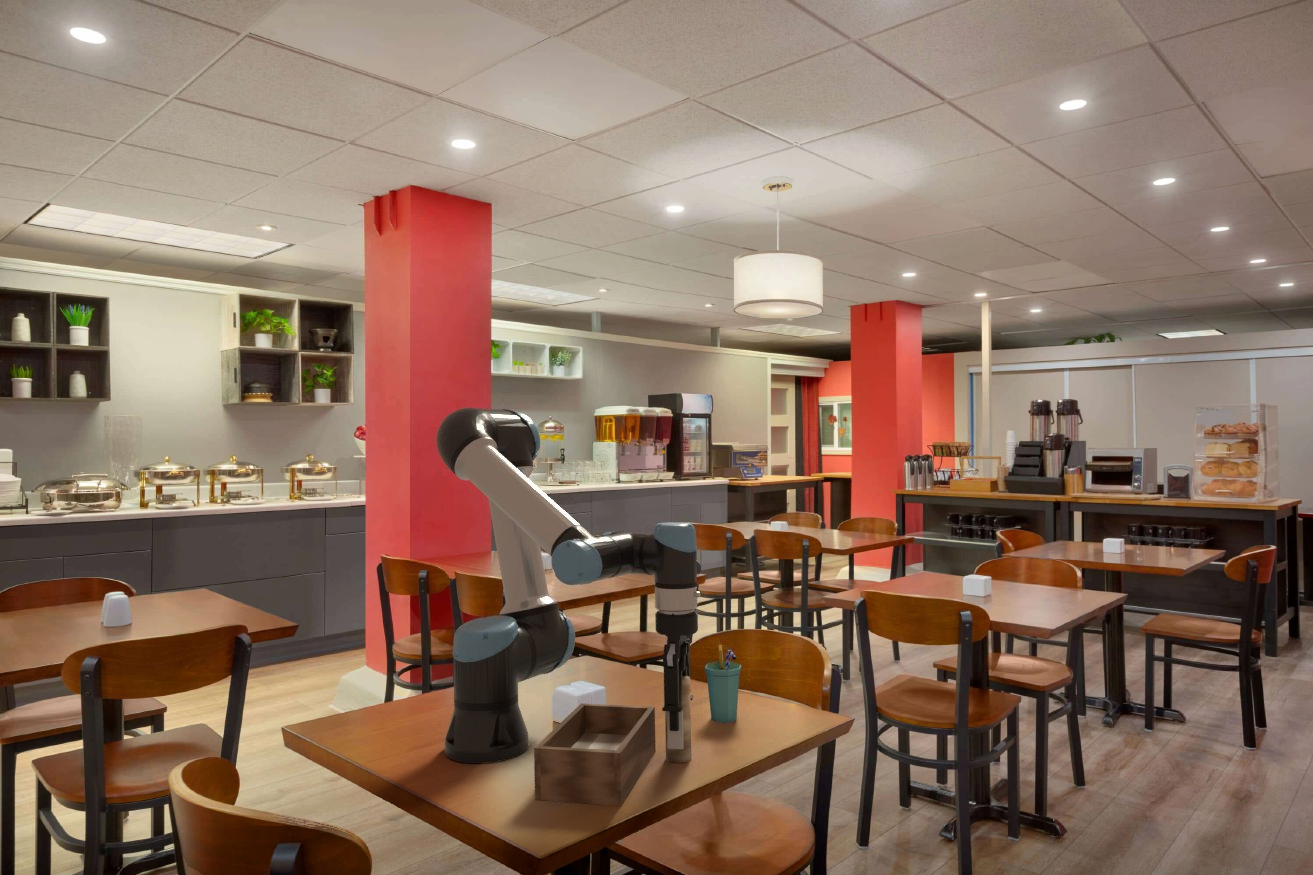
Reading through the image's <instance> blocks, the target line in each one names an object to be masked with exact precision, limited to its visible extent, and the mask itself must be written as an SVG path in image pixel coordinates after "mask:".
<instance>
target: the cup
mask: <svg viewBox="0 0 1313 875" xmlns="http://www.w3.org/2000/svg"><path fill="white" fill-rule="evenodd" d="M725 655H726V656H725V661H724V655H723V646H722V644H718V657H719V661H713V662H708V663H707V664H706V665H705V667H704V673H705V674H706V679H707V680H706V681H707V691H708V699H709V707H710V710H709V711H710V719H711V721H714V722H715V723H727V724H728V723H732V722H736V721H737V719H738V701H739V685H740V673H741V671H742V665H741V664H740V663H736V662H733V661H735V660H736V659H737V657H736V655H735V653H734V652H733V651H732V649H728V650H727V651H726V654H725ZM731 660H732V661H731Z"/></svg>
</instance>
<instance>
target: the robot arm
mask: <svg viewBox="0 0 1313 875" xmlns="http://www.w3.org/2000/svg"><path fill="white" fill-rule="evenodd" d="M435 438H436V440H435V441H436V448H437V452H438V455H439V456H440V458H441V460H442V462H443V463H444V465H445V466H446V467H447V468H448V470H450V471H451V472H452V473H453V474H454V475H455V476H456V477H457V478H458V479H460V480H462V481H469V482H470V483H472V484H473V485H474V486H475V487H476V488H477V489H478V490H479V491H480V492H481V493H483V495H485V497H487V499H488V505H489V510H490V516H491V517H490V518H491V522H492V528H493V535H494V539H495V546H496V552H497V557H498V564H499V571H500V576H501V581H502V586H503V587H502V588H503V594H504V599H505V604H504V605H503V607H502V608H501V609H500V612H499V615H491V616H487V617H479V618H475V619H472V620H469V621H466V622H464V623H462V624H461V625H460V626H458V628H457V629H456V630H455V632H454V635H453V647H452V664H453V701H454V702H453V705H454V706H453V707H454V708H453V712H452V716H451V719H450V722H449V725H448V729H447V732H446V736H445V739H444V756H446V757H447V758H448V759H450V760H452V761H455V762H459V763H467V764H486V763H488V764H489V763H495V762H500V761H501V762H502V761H505V760H508V759H512V758H515V757H517V756H520V755H521V754H523V753H525V752H526V751H528V750H527V749H528V748H529V734H528V728H527V726H526V723H525V721H524V717H523V714H522V711H521V709H520V706H519V683H521V682H524V681H527V680H530V679H533V678H535V677H538V676H541V675H546V674H547V675H548V674H549V673H552V672H553V671H555V670H557V669H559V668H562V666H564V665H565V664H567V662H568V661H569V659H570V657H571V656H572V654H573V652H574V648H575V645H576V644H575V643H576V633H575V627H574V624H573V622H572V620H571V619H570V618H568V617H567V614H565V613H564V612H562V611H561V610H559V609H560V608H559V603H558V600H556V599H555V598H554V597H553V596H551V595H550V593H549V590H548V585H547V578H546V572H545V567H544V561H543V557H542V556H543V555H542V550H544V552H545V553H546V554H548V555H549V556H550V557H551V559H550V560H551V569H552V570H553V572H554V575H555V578H557V580H558V581H560V582H561V583H562V584H564V585H568V586H577V585H588V584H592V583H594V582H597V581H602V580H605V579H606V580H607V579H611V578H617V577H621V576H624V575H625V576H626V575H632V574H633V575H634V574H635V575H648V576H654V608H655V610H657V611H656V612H655V613H654V615H655V616H654V617H655V620H654V622H655V632H656V633H657V634H658V635H662V636H663V635H664V636H666V638H667V640H666V644H664V646H663V653H662V666H663V667H662V668H663V707H662V708H661V710H662V712H665V711H667V744H668V748H670V749H683V748H684V737H683V710H682V707H681V706H682V676H688V677H690V678H691V642H692V641H691V639H690V638H687V636H691V635H695V634H697V632H698V631H699V623H698V622H699V619H698V618H699V615H698V614H699V613H698V612H697V611H696V609H697V608H698V598H700V597H701V592H700V591H697V589H698V580H697V578H698V577H697V574H698V573H697V570H698V568H697V566H698V565H697V564H698V562H697V560H698V558H697V554H698V553H697V551H698V545H697V534H696V531H697V530H696V527H695V526H694V524H692V523H690V522H685V521H684V522H683V521H682V522H679V521H678V522H677V521H676V522H674V521H673V522H672V521H671V522H670V521H668V522H658V523H656V524H655V525H654V528H653V532H650V533H649V532H648V533H646V532H633V531H632V532H631V531H630V532H629V531H624V530H617V531H605V532H603V534H601V535H600V536H594V535H593V534H591V533H590V532H589V531H588V530H586V528H584V527H583V525H581V524H580V523H579V522H577V521H576V520H575V519H574V518H573V517H572V516H571V515H570V514H569V513H568V512H566V511H565V510H564V509H563V508H562V507H560V505H558V504H557V503H556V502H555V501H554V500H553V499H552V498H551V497H550V496H549V495H547V494H546V493H545V492H544V491H543V490H542V489H541V488H540V487H538V485H537V484H536V483H534V482H533V481H532V480H531V479H530V476H531V475H532V473H533V472H534V470H535V468H534V462H533V461H534V460H536V458H537V457H538V451H539V450H540V448H541V436H540V432H539V430H538V426H536V424H535V422H534V421H533V420H532V419H531V417H529V416H528V415H526V414H525V413H523V412H521V411H516V410H512V409H510V408H509V409H508V408H501V409H495V408H476V407H463V408H459V409H456V410H454V411H453V412H451V413H449V414H448V415H447V416H445V418H444V419H443V420H442V421H441V423H440V424H439V427H438V429H437V432H436V437H435ZM691 691H692V690H691V688H690V693H691ZM693 698H694V695H693V694H690V700H691V701H693Z"/></svg>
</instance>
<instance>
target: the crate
mask: <svg viewBox="0 0 1313 875" xmlns="http://www.w3.org/2000/svg"><path fill="white" fill-rule="evenodd" d="M655 709H656V707H655V706H642V705H641V706H640V705H625V704H624V705H621V704H619V705H618V704H601V703H596V704H595V703H582V702H581V703H580V704H579V705H578V706H576V707H575V708H574V710H573V711H571V713H569V714H568V715H567V716H566V717H565V718H564V719H563V720H562V721H561V722H559V724H557V725H556V727H555V728H554V729H552V731H551V732H549V733H548V734H547V735H546V736H545V737H544V738H543V739H542V740H541V741H540V742H539V743H538V744H537V745H535V747H533V753H534V754H533V757H534V758H533V759H534V760H533V761H534V762H533V763H534V764H533V765H534V766H533V767H534V772H533V773H534V800H535V801H536V800H537V801H548V802H561V803H562V802H563V803H573V804H588V805H589V804H590V805H601V806H614V807H615V806H617V807H622V806H623V805H624V802H625V801H626V799H627V798H628V797H629V794H630V793H631V791H632V789H633V788H634V787H635V785H636V783H637V781H638V780H639V779H640V777H641V776H642V774H643V772H644V771H645V769H646V768H647V766H648V764H649V762H650V761H651V760H652V758H653V756H654V755H655V753H656V748H657V747H656V710H655Z"/></svg>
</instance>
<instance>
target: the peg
mask: <svg viewBox="0 0 1313 875" xmlns="http://www.w3.org/2000/svg"><path fill="white" fill-rule="evenodd" d="M690 689H691V676H690V677H688V676H682V706H681V707H682V710H683V737H684V748H683V749H670V748H668V744H667V711H664V713H665V714H664V715H665V716H664V718H665V719H664V720H665V729H664V730H665V760H666V761H668V762H670V763H675V764H676V763H677V764H679V763H687V762H690V761H691V760H692V717H691V716H692V714H691V712H692V711H691V710H692V706H691V704H692V703H691V702H692V700H690V695H691V692H690Z"/></svg>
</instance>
